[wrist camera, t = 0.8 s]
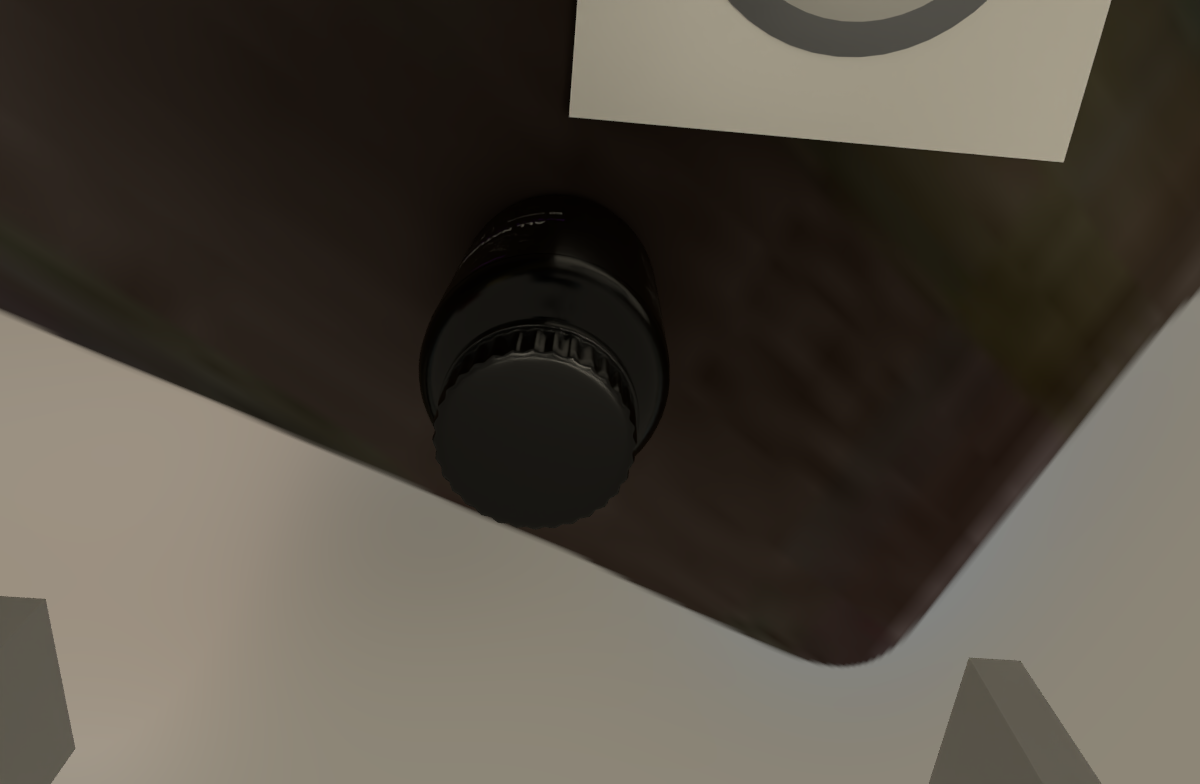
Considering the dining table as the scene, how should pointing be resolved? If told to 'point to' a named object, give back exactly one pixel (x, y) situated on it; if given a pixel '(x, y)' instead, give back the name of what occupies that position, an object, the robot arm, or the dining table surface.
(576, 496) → the supplement bottle
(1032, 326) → the dining table surface
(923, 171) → the dining table surface
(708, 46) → the record player
